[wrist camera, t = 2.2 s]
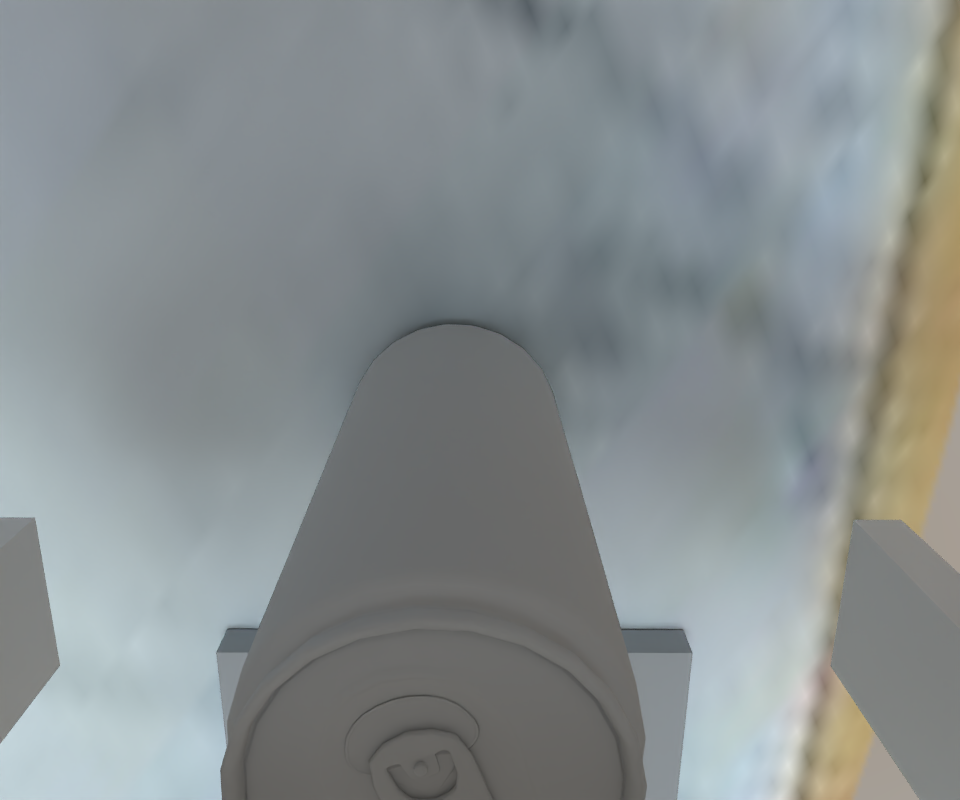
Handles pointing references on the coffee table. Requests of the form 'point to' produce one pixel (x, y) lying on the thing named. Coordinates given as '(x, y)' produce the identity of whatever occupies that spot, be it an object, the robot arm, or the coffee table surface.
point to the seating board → (657, 676)
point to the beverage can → (441, 604)
